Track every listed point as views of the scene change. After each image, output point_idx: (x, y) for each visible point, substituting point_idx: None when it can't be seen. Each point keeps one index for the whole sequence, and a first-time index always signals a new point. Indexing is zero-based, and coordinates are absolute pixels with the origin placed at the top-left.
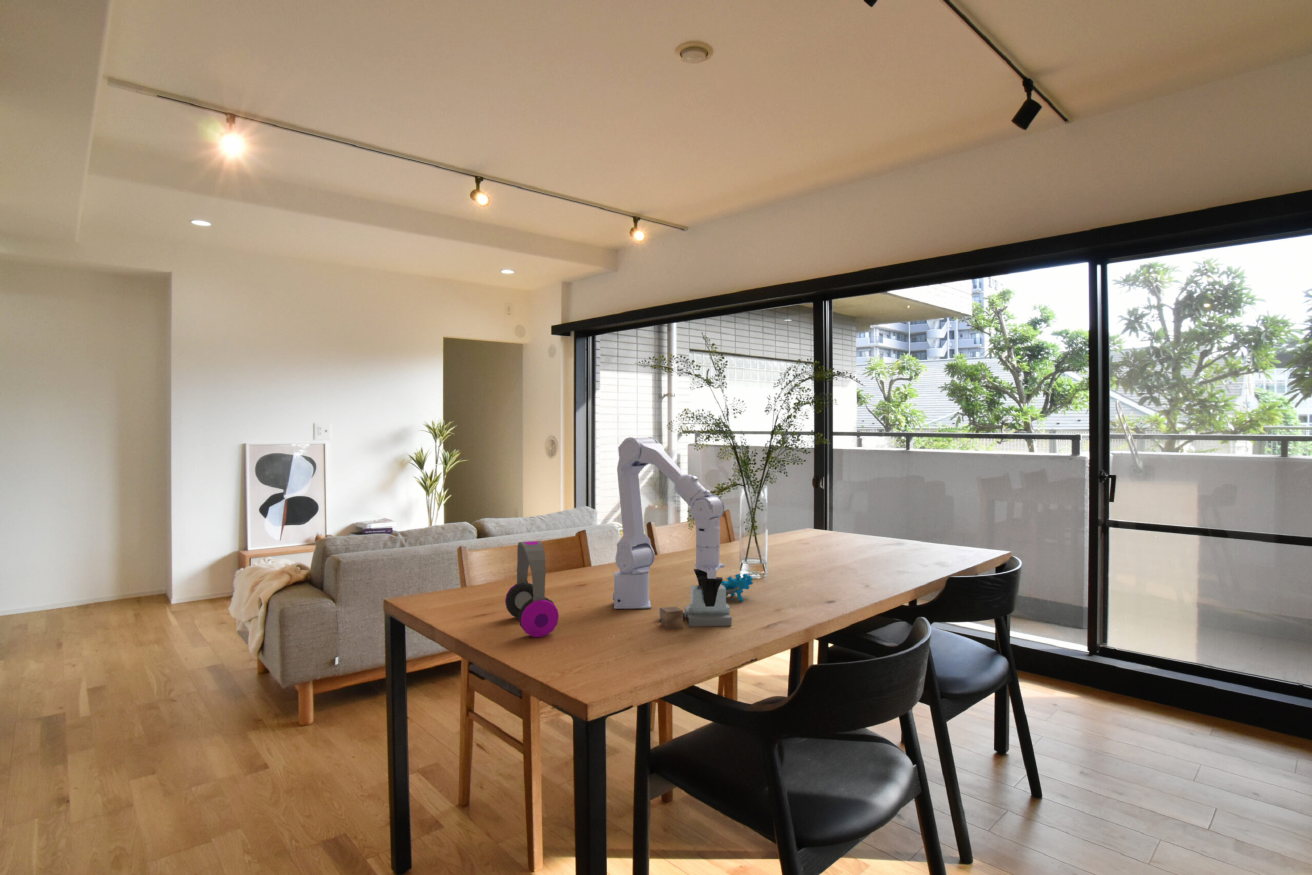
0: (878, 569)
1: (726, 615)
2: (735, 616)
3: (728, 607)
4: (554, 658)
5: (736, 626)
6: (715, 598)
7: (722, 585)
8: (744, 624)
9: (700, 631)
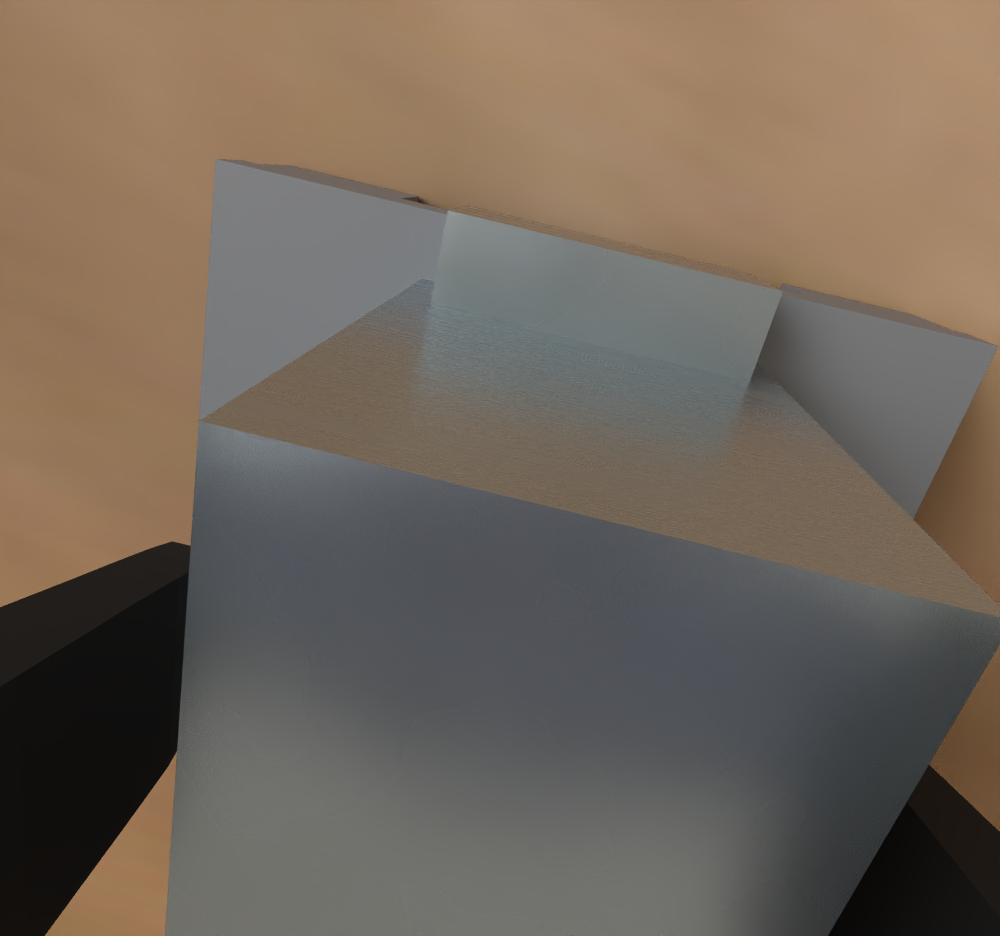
0: None
1: (831, 382)
2: (431, 10)
3: (768, 322)
4: None
5: (986, 250)
6: (996, 846)
7: (279, 481)
8: (951, 55)
9: (945, 770)
